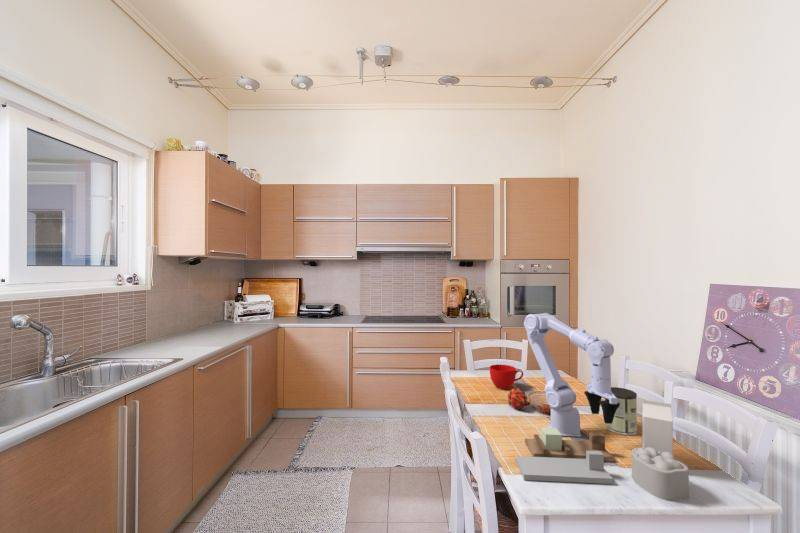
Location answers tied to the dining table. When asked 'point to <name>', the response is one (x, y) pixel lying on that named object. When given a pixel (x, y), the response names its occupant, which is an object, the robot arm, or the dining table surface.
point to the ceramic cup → (503, 375)
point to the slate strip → (565, 469)
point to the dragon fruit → (517, 399)
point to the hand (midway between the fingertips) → (601, 418)
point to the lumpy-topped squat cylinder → (660, 473)
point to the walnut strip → (570, 447)
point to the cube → (551, 438)
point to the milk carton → (657, 426)
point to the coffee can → (624, 412)
